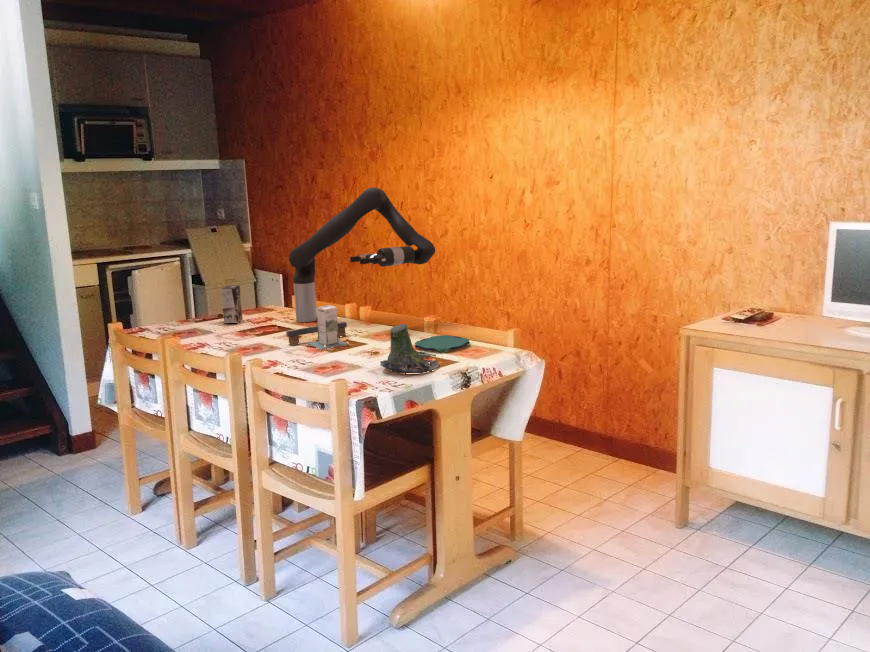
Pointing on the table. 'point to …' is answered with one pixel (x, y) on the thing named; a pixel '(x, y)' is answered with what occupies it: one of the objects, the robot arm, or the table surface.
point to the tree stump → (405, 354)
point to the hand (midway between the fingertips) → (355, 260)
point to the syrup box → (327, 325)
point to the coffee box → (231, 304)
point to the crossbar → (310, 330)
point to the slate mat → (320, 346)
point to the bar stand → (296, 338)
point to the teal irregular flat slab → (440, 344)
